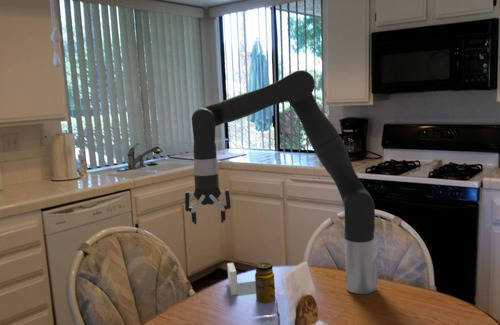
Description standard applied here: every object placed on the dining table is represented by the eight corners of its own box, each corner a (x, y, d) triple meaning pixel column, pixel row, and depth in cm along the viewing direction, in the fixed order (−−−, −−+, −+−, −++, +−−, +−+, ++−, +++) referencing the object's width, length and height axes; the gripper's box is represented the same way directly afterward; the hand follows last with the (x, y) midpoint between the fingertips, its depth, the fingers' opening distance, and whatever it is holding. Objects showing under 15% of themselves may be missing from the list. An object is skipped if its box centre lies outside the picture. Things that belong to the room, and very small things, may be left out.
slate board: (262, 281, 162) (262, 280, 162) (268, 293, 152) (268, 291, 152) (225, 286, 160) (225, 284, 160) (229, 298, 150) (228, 296, 150)
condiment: (281, 301, 146) (279, 265, 144) (259, 309, 142) (256, 272, 140) (267, 294, 152) (265, 259, 150) (246, 301, 148) (243, 265, 146)
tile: (234, 284, 159) (233, 262, 158) (238, 294, 152) (236, 271, 150) (228, 285, 159) (227, 263, 158) (231, 295, 151) (230, 272, 150)
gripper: (228, 169, 149) (231, 218, 151) (184, 171, 148) (187, 220, 150) (229, 173, 141) (231, 224, 144) (182, 175, 140) (185, 227, 143)
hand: (208, 222), depth 147 cm, fingers open, 8 cm apart
